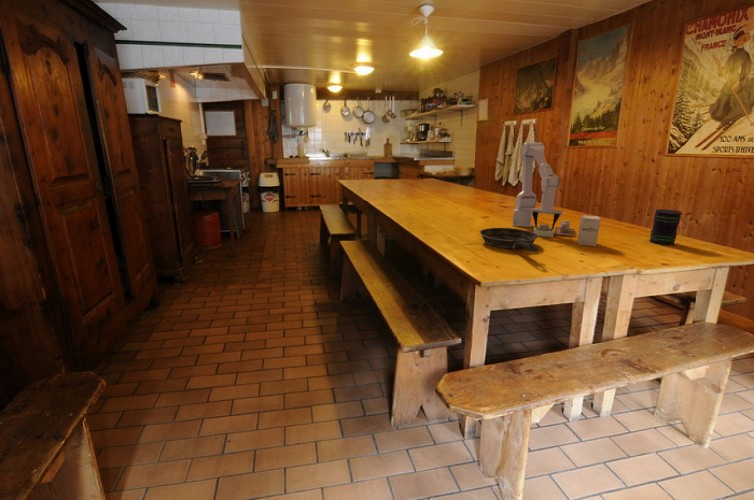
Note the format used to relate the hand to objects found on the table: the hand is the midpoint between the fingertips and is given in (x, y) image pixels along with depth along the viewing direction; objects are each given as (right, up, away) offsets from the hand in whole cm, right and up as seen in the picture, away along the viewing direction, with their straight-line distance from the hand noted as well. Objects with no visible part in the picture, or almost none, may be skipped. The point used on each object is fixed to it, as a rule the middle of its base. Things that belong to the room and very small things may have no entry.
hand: (544, 228), depth 198 cm
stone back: (+14, -1, +9) cm, 17 cm away
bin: (0, -3, +1) cm, 3 cm away
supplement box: (+13, -8, -15) cm, 22 cm away
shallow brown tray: (+13, -2, +5) cm, 14 cm away
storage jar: (+50, -8, -12) cm, 52 cm away
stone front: (0, -3, +1) cm, 3 cm away
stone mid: (+13, -2, +5) cm, 14 cm away
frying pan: (-23, -10, -23) cm, 34 cm away
